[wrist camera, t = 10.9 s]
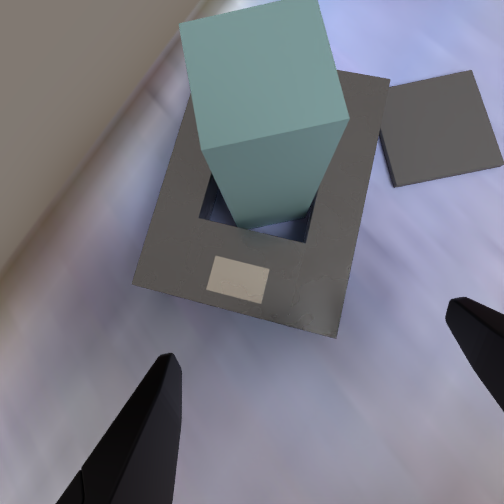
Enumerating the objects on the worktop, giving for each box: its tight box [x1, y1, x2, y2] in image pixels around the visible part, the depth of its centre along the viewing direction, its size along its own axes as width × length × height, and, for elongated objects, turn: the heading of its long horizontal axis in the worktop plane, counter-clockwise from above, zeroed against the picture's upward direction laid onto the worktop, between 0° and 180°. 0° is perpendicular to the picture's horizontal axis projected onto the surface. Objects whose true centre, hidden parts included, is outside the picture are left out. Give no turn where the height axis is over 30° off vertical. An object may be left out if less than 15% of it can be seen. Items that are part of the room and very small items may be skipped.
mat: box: [379, 70, 504, 188], centre depth 20 cm, size 7×7×1 cm
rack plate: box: [132, 70, 390, 339], centre depth 18 cm, size 12×16×3 cm
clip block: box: [179, 0, 350, 229], centre depth 14 cm, size 4×4×11 cm
